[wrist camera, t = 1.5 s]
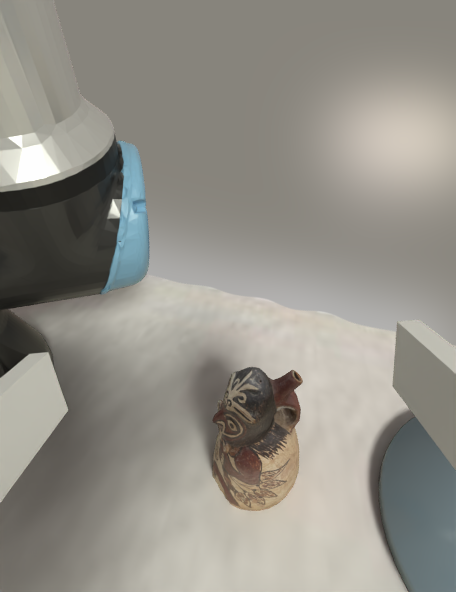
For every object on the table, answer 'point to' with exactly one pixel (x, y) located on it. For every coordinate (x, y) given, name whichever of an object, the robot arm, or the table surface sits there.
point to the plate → (419, 510)
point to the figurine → (257, 439)
